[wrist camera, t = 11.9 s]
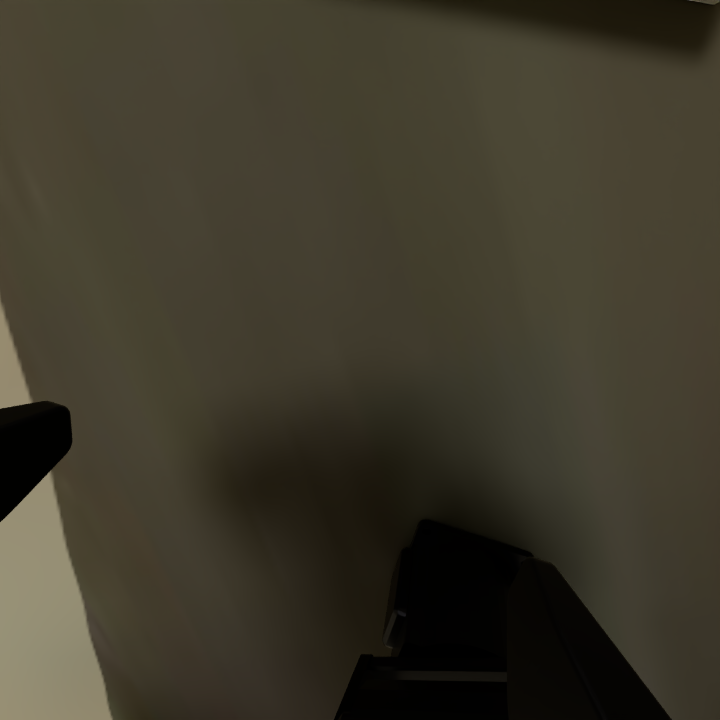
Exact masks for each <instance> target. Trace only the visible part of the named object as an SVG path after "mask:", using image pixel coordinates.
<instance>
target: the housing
mask: <svg viewBox="0 0 720 720" xmlns="http://www.w3.org/2000/svg"><path fill="white" fill-rule="evenodd" d="M689 1H695V2H701V3H707V4H712V5H715V4H716V3H718V2H719V1H720V0H689Z"/></svg>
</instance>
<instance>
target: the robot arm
mask: <svg viewBox="0 0 720 720" xmlns="http://www.w3.org/2000/svg"><path fill="white" fill-rule="evenodd" d="M71 445H72V428H71V416H70V411H69V410H68V408H67V407H65V406H63V405H60V404H57V403H54V402H50V401H41V402H35V403H30V404H24V405H19V406H13V407H8V408H2V409H0V522H1V521H2V520H3V519H4V518H5V517H6V516H7V515H8V514H9V513H10V512H11V511H12V510H13V509H14V508H15V507H16V506H17V505H18V504H19V503H20V502H21V501H22V500H23V499H24V498H25V497H26V496H27V495H28V494H29V493H30V492H31V491H32V489H33V488H34V487H35V486H36V485H37V484H38V483H39V482H40V481H41V480H42V479H43V478H44V477H45V476H46V475H47V474H48V473H49V472H50V471H51V470H52V469H53V467H54V466H55V465H56V464H57V463H58V462H59V461H60V460H61V459H62V458H63V457H64V456H65V455H66V454H67V453H68V451H69V449H70V448H71ZM425 528H428V529H430V530H425ZM523 561H524V562H523ZM382 641H383V643H384V645H385V646H386V647H389V648H392V655H391V657H373V655H372V654H361V655H360V658H359V660H358V663H357V665H356V667H355V670H354V672H353V675H352V677H351V679H350V682H349V684H348V687H347V689H346V692H345V694H344V697H343V699H342V701H341V704H340V706H339V709H338V711H337V713H336V716H335V718H334V720H672V719H671V718H670V717H669V715H668V714H667V713H666V711H665V710H664V709H663V708H662V706H661V705H660V704H659V702H658V701H657V700H656V698H655V697H654V696H653V694H652V693H651V692H650V690H649V689H648V688H647V687H646V685H645V684H644V683H643V681H642V680H641V679H640V677H639V676H638V675H637V673H636V672H635V671H634V669H633V668H632V667H631V665H630V664H629V663H628V662H627V660H626V659H625V658H624V656H623V655H622V654H621V652H620V651H619V650H618V648H617V647H616V646H615V644H614V643H613V642H612V641H611V639H610V638H609V637H608V635H607V634H606V633H605V631H604V630H603V629H602V627H601V626H600V625H599V623H598V622H597V621H596V620H595V618H594V617H593V616H592V614H591V613H590V612H589V610H588V609H587V608H586V606H585V605H584V604H583V602H582V601H581V600H580V599H579V597H578V596H577V595H576V593H575V592H574V591H573V589H572V588H571V587H570V585H569V584H568V583H567V581H566V580H565V579H564V577H563V576H562V575H561V574H560V572H559V571H558V570H557V568H556V567H555V566H554V565H553V564H551V563H549V562H547V561H544V560H541V559H537V558H534V556H533V555H532V554H531V553H529V552H527V551H524V550H521V549H518V548H514V547H511V546H508V545H505V544H502V543H499V542H496V541H493V540H490V539H487V538H483V537H480V536H477V535H474V534H471V533H468V532H465V531H462V530H459V529H455V528H452V527H449V526H446V525H443V524H440V523H437V522H434V521H431V520H422V521H420V522H419V524H418V526H417V529H416V532H415V535H414V537H413V540H412V543H411V546H410V548H407V547H406V548H404V549H402V551H401V554H400V557H399V559H398V562H397V565H396V568H395V571H394V574H393V576H392V581H391V587H390V593H389V600H388V606H387V612H386V619H385V625H384V631H383V638H382Z"/></svg>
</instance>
